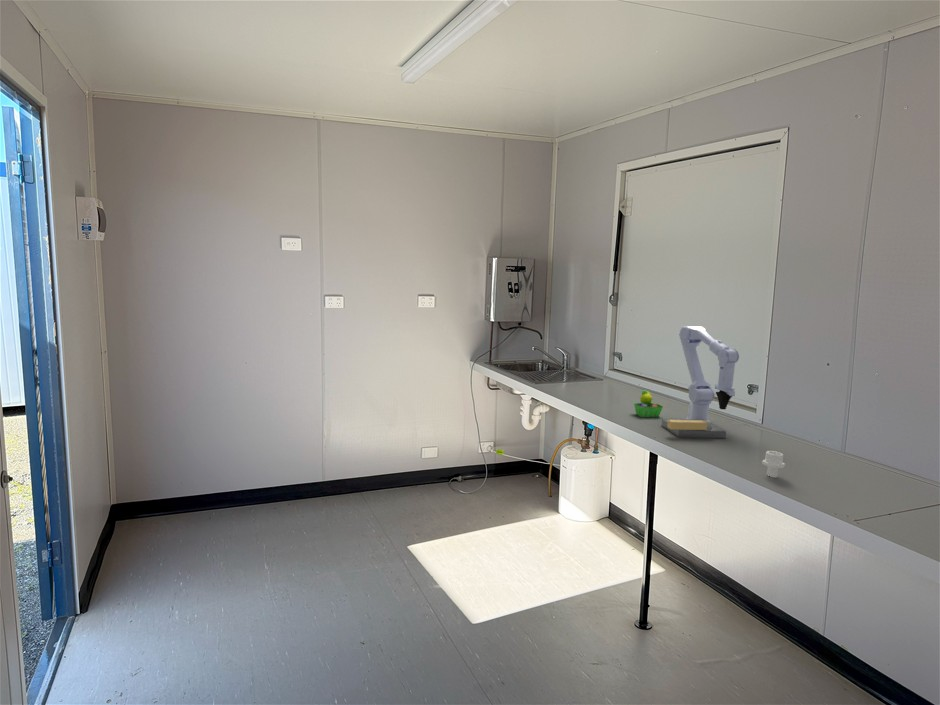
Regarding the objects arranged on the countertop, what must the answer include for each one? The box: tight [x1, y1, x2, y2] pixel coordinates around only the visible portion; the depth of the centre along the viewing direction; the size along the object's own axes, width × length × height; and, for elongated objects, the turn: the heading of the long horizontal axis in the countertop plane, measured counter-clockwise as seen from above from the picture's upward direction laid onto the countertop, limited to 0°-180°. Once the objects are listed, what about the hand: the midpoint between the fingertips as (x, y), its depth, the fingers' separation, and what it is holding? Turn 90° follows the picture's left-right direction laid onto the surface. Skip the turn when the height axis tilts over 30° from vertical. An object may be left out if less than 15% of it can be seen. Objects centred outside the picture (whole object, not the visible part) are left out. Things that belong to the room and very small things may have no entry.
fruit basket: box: [633, 389, 664, 418], centre depth 291 cm, size 11×9×11 cm
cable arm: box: [667, 419, 713, 430], centre depth 257 cm, size 18×4×3 cm, turn 96°
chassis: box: [661, 418, 727, 439], centre depth 266 cm, size 18×20×4 cm
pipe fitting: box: [761, 450, 786, 478], centre depth 213 cm, size 6×7×8 cm
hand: (722, 408), depth 268 cm, fingers closed
